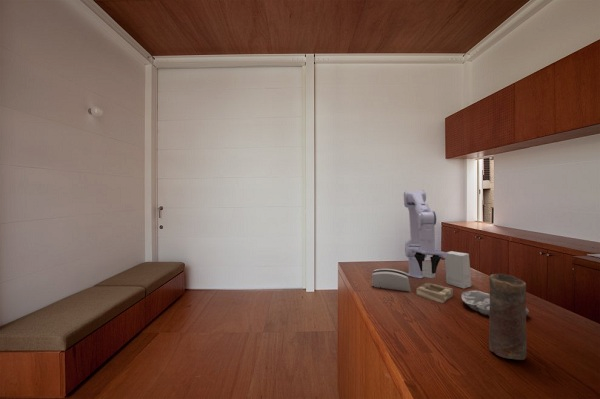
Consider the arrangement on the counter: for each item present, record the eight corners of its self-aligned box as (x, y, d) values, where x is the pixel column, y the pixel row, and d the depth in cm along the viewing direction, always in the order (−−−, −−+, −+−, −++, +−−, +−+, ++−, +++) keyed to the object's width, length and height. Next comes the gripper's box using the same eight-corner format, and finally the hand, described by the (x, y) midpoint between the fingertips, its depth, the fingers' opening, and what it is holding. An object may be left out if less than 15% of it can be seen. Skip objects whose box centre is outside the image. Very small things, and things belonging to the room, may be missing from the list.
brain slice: (447, 303, 94) (447, 295, 94) (477, 296, 100) (477, 288, 100) (505, 328, 75) (505, 318, 75) (538, 317, 81) (538, 308, 81)
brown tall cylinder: (518, 348, 65) (516, 274, 65) (534, 367, 58) (532, 283, 58) (484, 343, 68) (483, 272, 67) (496, 360, 61) (494, 281, 60)
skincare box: (471, 286, 109) (470, 253, 109) (463, 289, 106) (462, 255, 106) (452, 281, 116) (452, 250, 116) (444, 283, 114) (444, 251, 114)
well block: (427, 289, 107) (427, 282, 107) (452, 296, 100) (452, 288, 100) (416, 295, 101) (416, 288, 101) (442, 303, 93) (442, 295, 93)
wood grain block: (432, 278, 101) (432, 262, 101) (422, 276, 104) (422, 261, 104) (435, 276, 104) (435, 261, 104) (425, 274, 107) (425, 259, 107)
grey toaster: (410, 287, 110) (410, 268, 107) (410, 294, 106) (410, 275, 103) (372, 282, 117) (371, 265, 114) (371, 289, 113) (369, 271, 110)
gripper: (405, 239, 106) (406, 270, 106) (441, 243, 95) (442, 277, 95) (413, 237, 111) (414, 266, 111) (448, 240, 99) (449, 274, 99)
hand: (428, 271), depth 103 cm, fingers closed on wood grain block, 4 cm apart
